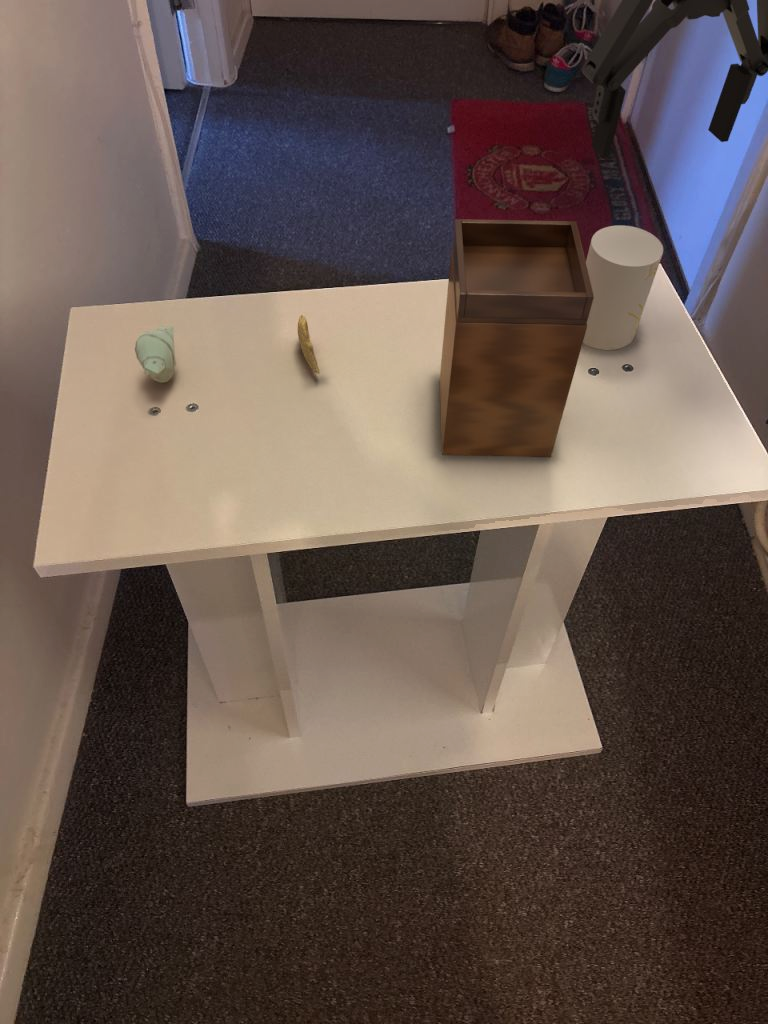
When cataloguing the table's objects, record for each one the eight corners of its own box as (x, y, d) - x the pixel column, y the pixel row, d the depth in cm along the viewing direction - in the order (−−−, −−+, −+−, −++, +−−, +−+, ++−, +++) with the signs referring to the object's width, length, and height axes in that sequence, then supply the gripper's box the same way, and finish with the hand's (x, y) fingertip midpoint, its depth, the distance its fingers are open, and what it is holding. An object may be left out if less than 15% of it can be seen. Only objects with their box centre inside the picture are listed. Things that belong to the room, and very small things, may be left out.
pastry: (294, 338, 95) (290, 305, 91) (306, 336, 95) (303, 303, 91) (310, 385, 89) (307, 352, 85) (323, 382, 90) (320, 350, 86)
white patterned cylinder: (636, 353, 93) (665, 269, 84) (569, 346, 94) (591, 262, 84) (633, 312, 98) (660, 228, 89) (570, 305, 99) (591, 222, 89)
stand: (539, 381, 90) (570, 248, 76) (551, 456, 83) (587, 325, 69) (439, 379, 90) (451, 246, 76) (442, 454, 83) (455, 323, 69)
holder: (569, 249, 76) (576, 221, 73) (586, 325, 69) (594, 296, 66) (452, 247, 76) (455, 218, 73) (456, 322, 69) (459, 294, 66)
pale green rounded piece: (172, 404, 87) (159, 359, 82) (138, 402, 87) (122, 357, 82) (187, 357, 92) (175, 312, 87) (154, 356, 92) (140, 311, 87)
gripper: (840, -137, 66) (745, 113, 83) (577, -118, 62) (534, 141, 79) (897, -113, 61) (785, 146, 78) (618, -90, 57) (563, 177, 74)
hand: (659, 144), depth 79 cm, fingers open, 13 cm apart
